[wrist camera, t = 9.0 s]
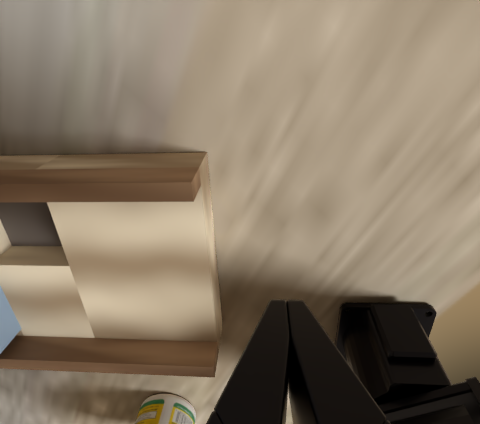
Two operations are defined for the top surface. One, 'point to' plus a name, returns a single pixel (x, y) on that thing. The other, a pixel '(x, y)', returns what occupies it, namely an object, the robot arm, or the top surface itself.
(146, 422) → the supplement bottle
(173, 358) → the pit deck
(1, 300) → the block
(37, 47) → the top surface
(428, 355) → the robot arm
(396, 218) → the top surface
